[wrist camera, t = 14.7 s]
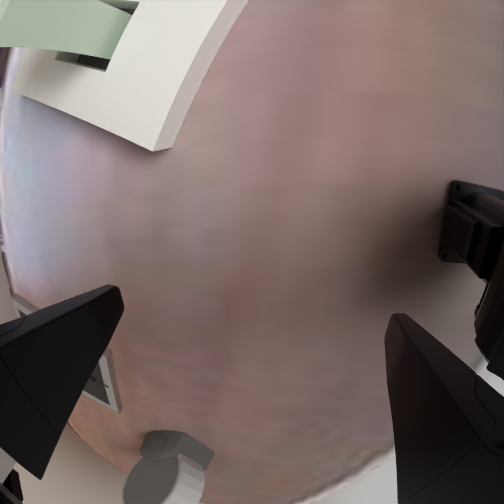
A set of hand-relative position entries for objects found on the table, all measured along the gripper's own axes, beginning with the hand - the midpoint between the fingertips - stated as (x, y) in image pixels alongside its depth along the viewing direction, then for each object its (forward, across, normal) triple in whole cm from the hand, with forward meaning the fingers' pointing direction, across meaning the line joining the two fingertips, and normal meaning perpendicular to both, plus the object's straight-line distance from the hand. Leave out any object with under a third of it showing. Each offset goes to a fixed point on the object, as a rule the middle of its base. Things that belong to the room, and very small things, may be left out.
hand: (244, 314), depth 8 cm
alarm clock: (+13, +16, +43) cm, 48 cm away
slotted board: (+13, +14, -15) cm, 24 cm away
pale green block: (+13, +14, -15) cm, 24 cm away
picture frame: (+14, +33, +24) cm, 43 cm away
